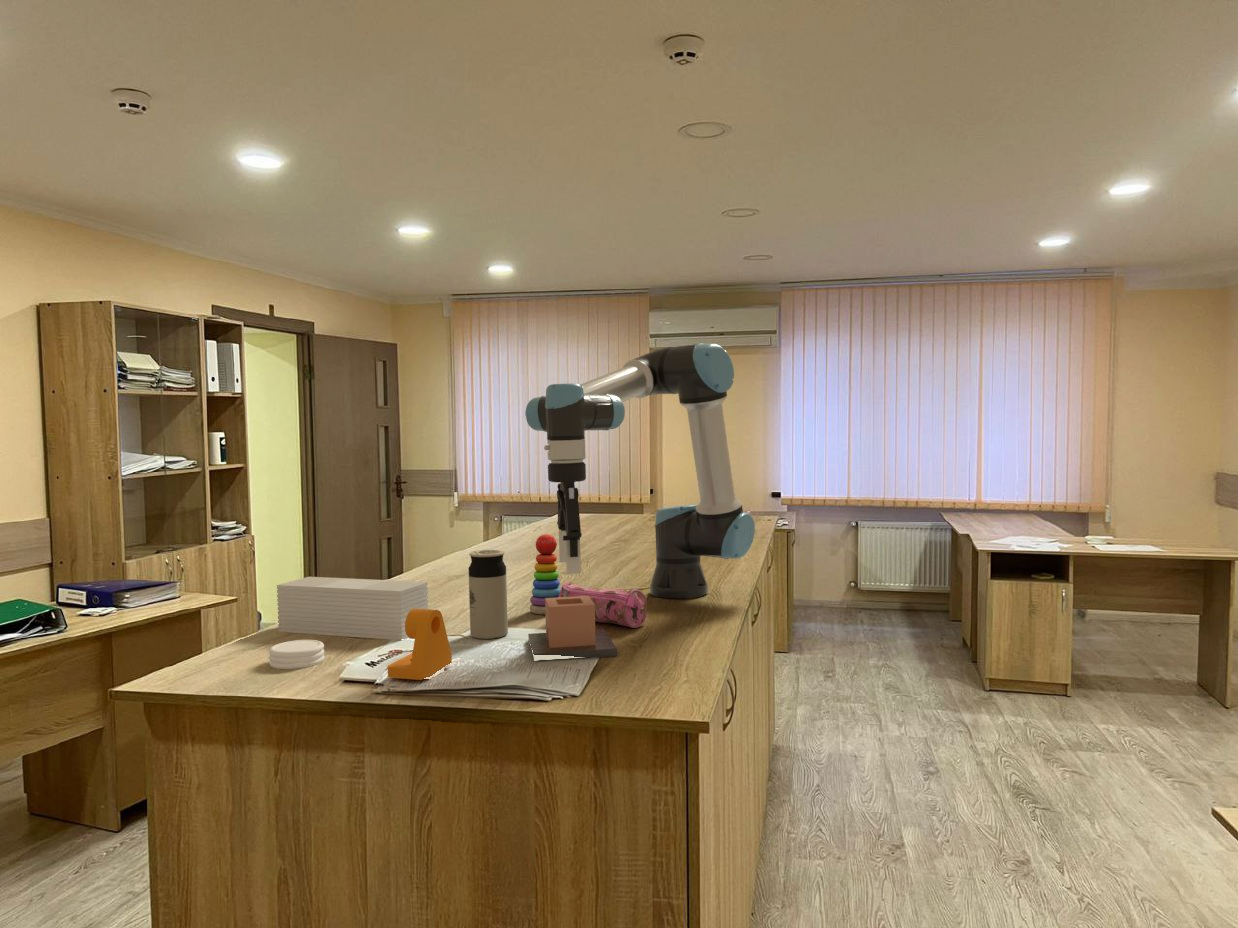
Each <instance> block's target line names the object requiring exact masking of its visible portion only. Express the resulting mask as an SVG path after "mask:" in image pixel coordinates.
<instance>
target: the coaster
mask: <svg viewBox="0 0 1238 928" xmlns="http://www.w3.org/2000/svg"><path fill="white" fill-rule="evenodd" d="M324 648H325V644H324V643H323V642H322V641H320V640H316V639H296V640H288V641H285V642H280V643H277V644H275V645H272V646H271V647H270V648H269V650H268V652H269V653H268V654H269V657H268V659H269V667H271V668H273V669H278V670H297V669H305V668H308V667H313V666H316V665H319V664H322V662H324V660H325V658H326V657H325V649H324Z"/></svg>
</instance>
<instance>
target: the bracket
mask: <svg viewBox="0 0 1238 928" xmlns="http://www.w3.org/2000/svg"><path fill="white" fill-rule="evenodd" d="M405 631H406V634H407V636H408V637H409V639H412V640H414V641H413V642H414V643H413V648H412V649H413V650H412V653H410V654H409V655H406V656H404V657H403V658H400V659H397V660H396V661H394V662H392V663H390V664H388V665H387V677H388V678H392V679H402V680H416V681H417V680H418V681H423V680H422V679H424V678H426V677H430V676H432V675H433V674H435V673H436V672H437V671H439V670H441V669H442V668H443V667H445V666H446V665H448V664H449V665H451V664H452V662H453V661H452V659H453V658H452V650H451V646H450V643H449V639H448V638H449V637H448V634H447V629H446V625H445V622H444V618H443V614H442V612H441V611H440V610H439V609H429V608H428V609H412V610H410V611H409V613H408V615H407V617H406V621H405ZM450 663H451V664H450ZM449 665H448V666H449ZM446 667H447V666H446ZM446 667H445V668H446Z"/></svg>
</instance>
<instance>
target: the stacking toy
mask: <svg viewBox="0 0 1238 928" xmlns="http://www.w3.org/2000/svg"><path fill="white" fill-rule="evenodd" d="M557 543H558V542H557V539H556V537H554V536H553V535H552V534H548V533H544V534H541V535H540V536H539V537H537V539H536V540H535V548H536V551H537V552H538V553H539V554H536V556H535V562H536V563H535V565H534V570H535V572H534V574H533V577H534V580H533V581H532V587H533V588H532V590H531V595H532V596H531V597H530V599H529V600H530V603H531V604H530V606H529V611H530V612H531V613H532V614H536V615H545V598H557V597H559V594H560V591H561V587H560V585H561V582H560V581H561V580H559V579H558V578H559V575H560V574H559V572H558V570H557V569H558V564H557V563H556V562H557V559H558V557H557V555H556V554H555V551H556V549H557V547H558V546H557V545H558V544H557Z"/></svg>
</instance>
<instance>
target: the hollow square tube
mask: <svg viewBox="0 0 1238 928" xmlns="http://www.w3.org/2000/svg"><path fill="white" fill-rule="evenodd" d="M544 616H545V633H546V638H547V640H548V642H549V647H550V648H557V647H573V646H588V645H596V639H595V630H596V622H595V604H594V603H593V601H592V600H591V598H590V597H589V596H575V597H557V598H545V614H544Z"/></svg>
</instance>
